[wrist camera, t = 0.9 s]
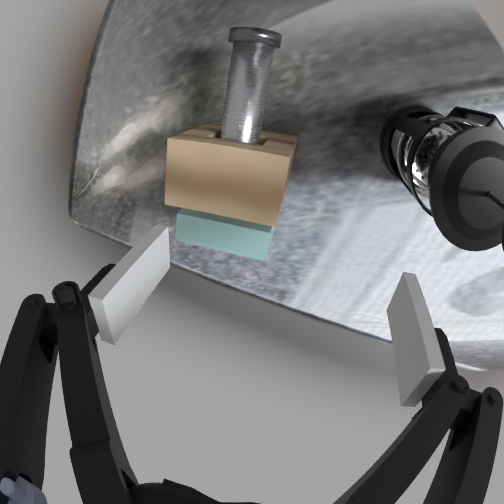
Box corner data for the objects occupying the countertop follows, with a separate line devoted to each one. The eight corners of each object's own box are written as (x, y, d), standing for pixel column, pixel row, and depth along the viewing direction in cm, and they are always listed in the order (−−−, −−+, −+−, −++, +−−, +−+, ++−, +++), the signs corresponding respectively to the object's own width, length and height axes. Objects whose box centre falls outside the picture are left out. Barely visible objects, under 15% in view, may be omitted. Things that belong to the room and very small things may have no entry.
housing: (212, 121, 34) (167, 138, 24) (298, 136, 33) (289, 157, 23) (207, 169, 37) (164, 204, 27) (288, 185, 36) (276, 227, 26)
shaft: (236, 34, 25) (223, 25, 21) (284, 39, 24) (278, 30, 20) (213, 226, 35) (199, 244, 31) (252, 234, 35) (243, 255, 31)
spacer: (206, 184, 37) (176, 213, 29) (281, 199, 36) (269, 233, 28) (204, 207, 38) (175, 240, 31) (276, 222, 37) (264, 260, 30)
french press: (412, 203, 34) (494, 337, 14) (359, 149, 32) (419, 244, 13) (473, 139, 28) (607, 214, 8) (423, 79, 27) (558, 85, 7)
